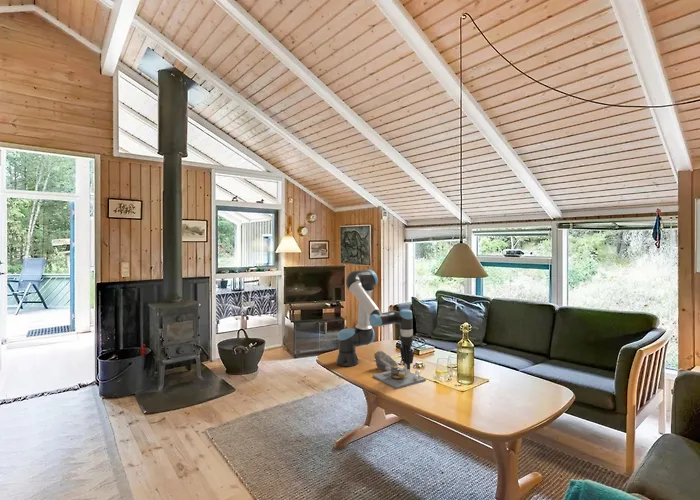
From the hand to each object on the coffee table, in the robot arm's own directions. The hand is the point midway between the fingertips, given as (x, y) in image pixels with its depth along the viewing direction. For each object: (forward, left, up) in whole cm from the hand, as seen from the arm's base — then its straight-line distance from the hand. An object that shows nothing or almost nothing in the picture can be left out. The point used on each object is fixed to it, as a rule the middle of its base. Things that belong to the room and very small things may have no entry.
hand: (407, 373), depth 236 cm
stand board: (-3, -4, -3) cm, 6 cm away
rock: (-22, 0, -4) cm, 22 cm away
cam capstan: (-4, -6, -2) cm, 7 cm away
